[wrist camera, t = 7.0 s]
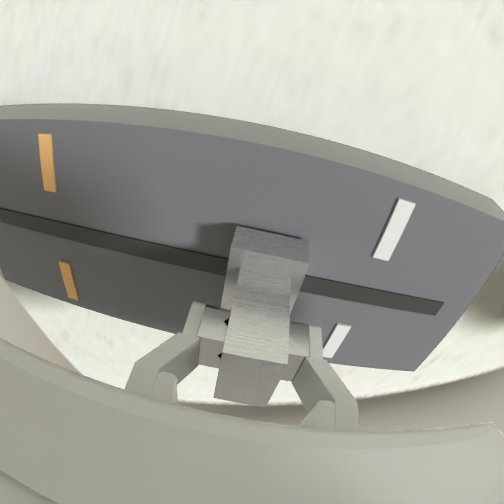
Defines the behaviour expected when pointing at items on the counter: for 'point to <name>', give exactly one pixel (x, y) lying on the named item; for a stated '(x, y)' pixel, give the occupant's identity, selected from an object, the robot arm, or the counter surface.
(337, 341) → the fader panel
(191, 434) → the robot arm
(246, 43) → the counter surface
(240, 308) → the fader knob
